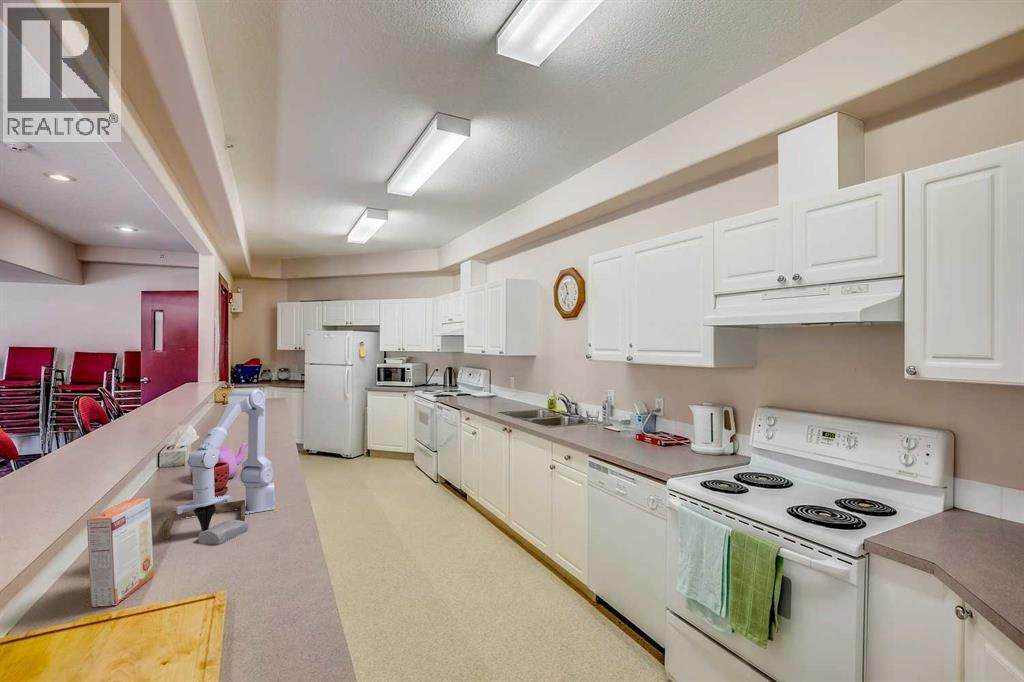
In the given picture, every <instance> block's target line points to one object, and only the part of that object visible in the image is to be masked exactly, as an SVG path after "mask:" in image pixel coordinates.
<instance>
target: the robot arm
mask: <svg viewBox="0 0 1024 682" xmlns="http://www.w3.org/2000/svg"><path fill="white" fill-rule="evenodd" d="M243 412H245V413H246V414H247V415H248V417H247V418H248V421H247V422H248V425H247V427H248V428H247V431H248V432H247V436H248V437H247V439H248V440H247V442H248V445H247V459H246V460H245V461H242V462H241V470H240V472H239V480H240V482H241V483H243V487H245V515H249V513H250V514H254V513H261V512H267V511H273V510H275V509H276V506H275V505H276V501H277V500H276V496H275V495H276V493H275V492H276V491H275V482H271V481H272V479H273V478H274V470H273V467H272V466H273V465H272V464H273V463H272V461H270V459H268V458H267V457H266V453H265V452H266V448H265V447H266V393H264V392H263V391H262V390H261V389H260V388H255V389H252V388H251V389H249V388H247V389H242V388H241V389H240V388H235V389H232V391H231V392H230V394H229V396H228V397H227V405H226V408H225V410H224V411H223V414H222V415H221V417H220V419H219V420H218V423H217V425H216V426H214V427H211V428H210V429H209V430H208V431H207V433H206V435H205V437H204V438H203V440H202V441H201V443H200V445H199V446H198V448H196V449H195V450H193V451H192V452H191V453H189V455H188V459H187V460H186V462H187V466H188V467H190V469H191V472H192V473H193V485H192V495H193V497H192V498H193V501H192V502H191V501H190V502H188V503H185V504H182V505H178V506H176V508H175V509H176V513H177V514H181V513H183V512H187V511H191V510H193V511H194V513H195V514H196V516H197V521H198V522H199V525H200V528H201V529H200V530H201V532H203V531H206V530H209V529H210V523H211V520H212V518H213V515H215V514H214V512H215V510H216V507H215V505H217V504H221V503H228V502H232V501H231V499H232V498H231V495H229V494H226V495H225V494H224V495H221V496H218V497H215V491H214V466H215V465H216V463H217V462H218V459H219V452H220V451H219V450H220V449H221V447H223V445H224V444H225V442H226V440H227V439H228V437H229V435H228V430H229V429H230V427H231V426H232V425H233V423H234V422H235V420H236V419H237V418H238V416H240V414H241V413H243Z"/></svg>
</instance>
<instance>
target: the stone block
mask: <svg viewBox="0 0 1024 682" xmlns="http://www.w3.org/2000/svg"><path fill="white" fill-rule="evenodd" d="M248 523H249V522H248V521H245V522H244V521H241V519H240V520H239V519H230V520H226V521H222V522H220V523H218V524H215V525H213V526H212V527H211V528H210V527H209V529H208V530H206V531H201V532H198V536H197V540H198V543H199V544H202V543H203V544H202V545H217V544H221V545H223V544H225V543H227V542H229V541H231V540H233V539H235V538H237V537H238V536H240V535H239V534H241V533H242V534H244V533H246V532H247V531H248V528H249V524H248ZM245 531H246V532H245ZM243 532H244V533H243ZM242 534H241V535H242ZM237 535H238V536H237ZM236 536H237V537H236ZM234 537H235V538H234ZM232 538H233V539H232ZM230 539H231V540H230ZM228 540H229V541H228ZM226 541H227V542H226Z"/></svg>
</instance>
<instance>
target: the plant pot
mask: <svg viewBox="0 0 1024 682" xmlns="http://www.w3.org/2000/svg"><path fill="white" fill-rule="evenodd" d="M189 472H190V481H191V483H192V486H193V473H192V472H191V468H190V469H189ZM229 480H230V479H229V463H228V462H217V463H216V465H215V466H214V491H215V497H217V496H218V497H219V496H220V495H221V496H224V495H225V494H226V493H227V492H228V491H229V487H228V486H227V484H228V483H229Z"/></svg>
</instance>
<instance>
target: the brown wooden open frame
mask: <svg viewBox="0 0 1024 682" xmlns="http://www.w3.org/2000/svg"><path fill="white" fill-rule="evenodd" d="M245 506H246V499H241V500H233V501H231V502H228V503H227V502H225V503H221V504H217V505H215V507H216V510H215V512H214V513H216V514H219V513H218V512H222V513H226V512H225V511H228V512H230V511H229V510H235V509H241V510H240V511H241V512H240V513H241V514H240V521H244V522H246V514H245ZM235 511H236V510H235ZM192 516H196V514H195V513H194V511H193V510H191V511H187V512H183V513H181V514H177V513H176V510H171V511H170V514H169V516H168V519H167V520H166V523H165V525H164V528H163V531H162V533H163V535H162V537H163V540H164V539H165V540H168V539H169V537H168V536H170V534H171V532H170V531H172V529H173V527H172V526H174V523H175V522H174V521H177V520H176V519H179V520H182V519H181V518H185V519H187V518H186V517H191V518H193V517H192Z"/></svg>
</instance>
